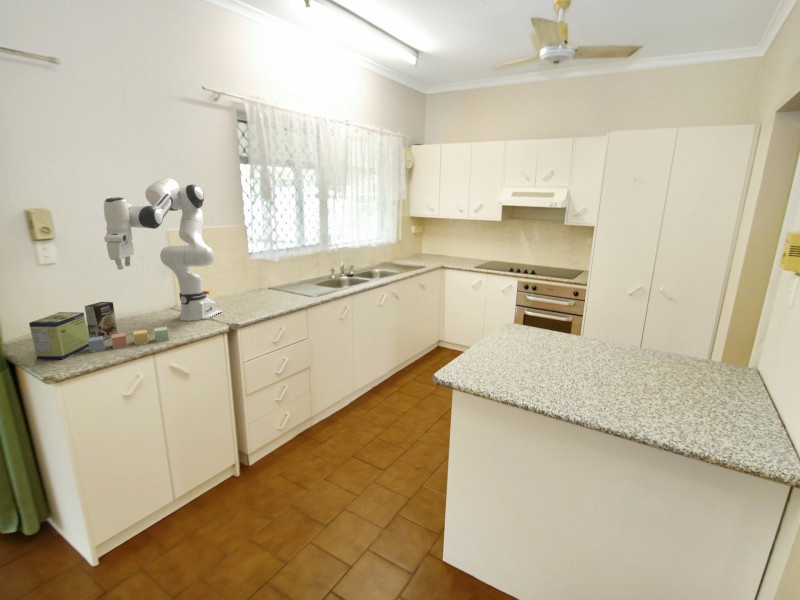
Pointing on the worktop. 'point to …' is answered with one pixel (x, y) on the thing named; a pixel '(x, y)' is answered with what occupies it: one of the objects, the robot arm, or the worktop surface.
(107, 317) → the coffee box
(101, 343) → the slate block
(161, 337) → the sage block
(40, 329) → the protein box
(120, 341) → the terracotta block
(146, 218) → the robot arm
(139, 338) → the ochre block
